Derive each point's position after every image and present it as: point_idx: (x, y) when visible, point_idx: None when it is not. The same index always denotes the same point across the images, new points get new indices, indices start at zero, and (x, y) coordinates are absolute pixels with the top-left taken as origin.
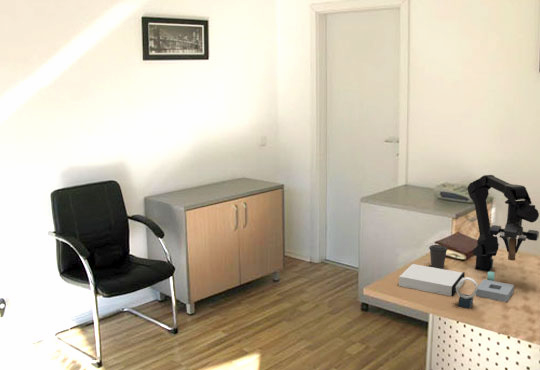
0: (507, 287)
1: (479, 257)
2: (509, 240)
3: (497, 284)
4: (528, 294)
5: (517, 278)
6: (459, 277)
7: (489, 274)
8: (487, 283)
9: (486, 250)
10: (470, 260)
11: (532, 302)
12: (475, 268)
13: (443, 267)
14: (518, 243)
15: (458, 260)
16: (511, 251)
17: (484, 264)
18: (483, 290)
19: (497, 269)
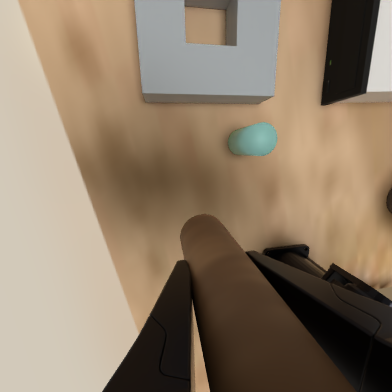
0: (159, 36)
1: (334, 264)
2: (347, 382)
3: (209, 55)
4: (86, 107)
5: (172, 248)
6: (377, 3)
7: (264, 123)
8: (250, 46)
9: (348, 289)
10: None
11: (35, 10)
12: (305, 245)
13: (389, 200)
14: (158, 365)
15: None
16: (222, 246)
17: (293, 262)
18: None
19: None
